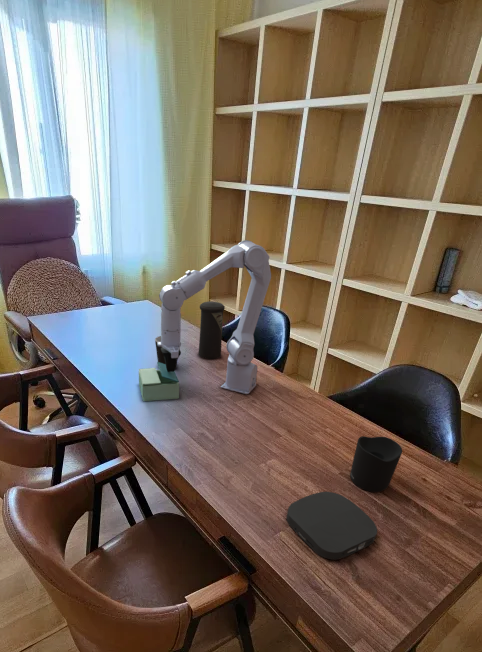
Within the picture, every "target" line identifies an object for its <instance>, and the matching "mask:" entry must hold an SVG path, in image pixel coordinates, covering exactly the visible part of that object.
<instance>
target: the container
mask: <svg viewBox="0 0 482 652" xmlns="http://www.w3.org/2000/svg"><path fill="white" fill-rule="evenodd" d="M199 310H200V326H199V341H198V356H199V357H200V358H202V359H205V360H216V359H219V358H221V356H222V341H223V340H222V339H223V320H224V310H225V305H224V304H223V303H222V302H218V301H212V300H211V301H204V302H201V304H199Z"/></svg>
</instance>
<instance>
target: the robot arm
mask: <svg viewBox="0 0 482 652" xmlns="http://www.w3.org/2000/svg"><path fill="white" fill-rule="evenodd" d="M231 268H239V269H244V268H245V269H246V271H247V272H248V274H249V276H250V277H251V279H250V283H249V287H248V290H247V293H246V297H245V301H244V304H243V308H242V310H241V314H240V318H239V321H238V324H237V326H236V327H237V328H236V329H235V330H233V332H232V334H231V336H230V338H229V339H228V340H227V343H226V351H227V352H228V357H227V363H226V364H227V365H226V375H225V382H224V383H223V384H222V385H221V386H220V388H221V389H225V390H228V391H231V392H237V393H240V394H245V395H249V394H250V393H251V392H252V391H253V389H254V388H256V386H257V376H258V375H257V374H258V365H257V364H256V363H253V362H252V361H253V360H254V357H255V352H254V347H255V337H254V335H255V330H256V328H257V325H258V321H259V317H260V315H261V311H262V308H263V305H264V302H265V299H266V295H267V293H268V289H269V286H270V283H271V280H272V271H271V267H270V255H269V253H268V252H267V251H266V249H265V248H264V247H263V246H262V245H259V244H257V243H254V242H253V241H251V240H249V239H245V240H242V241H240V242H238V244H235V245H232V246H231V247H230V248H229V249H228V250H227V251H226V252H223V254H221V255H220V256H219V257H217V258H216V259H214V260H213V261H212V262H210V263H209V264H208V265H206V266H205V267H203V268H202V269H200V270H197V269H196V270H195V269H193V270H190V269H189V270H187V271H185V274H184V275H183V276H182V277H180V278H179V279H177V280H173V281H172V282H171V281H170V282H171V283H170V284H167V285H164V286H163V287H162V288H161V291H160V292H159V294H158V298H159V301H160V302H161V307H160V309H161V311H160V336H161V342H157V345H158V346H159V347H160V346H161V347H162V348H161V351H162V353H163V355H164V359H165V364H166V369H167V371H168V372H174V371H175V372H176V368H177V367H176V363H177V364H178V360H179V358H180V356H181V354H182V351H181V349H180V348H181V347H182V342H181V332H182V330H181V328H182V325H181V324H182V323H181V322H182V313H181V308H182V306H183V304H184V301H187V300H189V298H191V297H193V296H195V295H196V294H198V293H199V292H201V291H202V290H204V289H205V287H206V284H207V282H208V281H210V280H212V279H213V278H215V277H217V276H218V275H220V274H222V273H224V272H226V271H227V270H228V269H231ZM175 367H176V368H175Z"/></svg>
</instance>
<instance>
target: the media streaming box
mask: <svg viewBox="0 0 482 652" xmlns="http://www.w3.org/2000/svg"><path fill="white" fill-rule="evenodd" d="M286 522H287V524H288V525H289V526H290V528H291V529H292V530H293V531H294V532H295V533H296V534H297V535H298V536H299V537H300V538H301V539H302V541H303V542H304V543H305V544H306V545H307V546H308V547H309V548H310V549H312V550H313V551H314V552H315V553H316V554H317V555H318V556H320V557H322V558H324V559H328V560H332V561H333V560H334V561H336V560H341V559H343V558H346V557H348V556H351V555H353V554H355V553H357V552H359V551H361V550H363V549H365V548H367V547H369V546H370V545H372V544H373V543H374V542H375V540H376V537H377V534H378V527H377V525H376V523H375V522H374V520H373V519H372V518H371V517H370V516H369V515H368V514H367V513H366V512H365V511H364V510H362V508H361V507H360V506H358V505H357V504H355V503H354V502H353V501H351V500H350V499H349V498H347V497H345V496H344V495H342V494H339V493H336V492H331V491H320V492H315V493H312V494H309V495H306V496H303V497H301V498H299V499H297V500H296V501H293V502H292V503H291V504H290V505H289V506H288V508H287V513H286Z"/></svg>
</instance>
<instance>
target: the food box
mask: <svg viewBox="0 0 482 652" xmlns="http://www.w3.org/2000/svg"><path fill="white" fill-rule="evenodd" d="M138 387H139V391H140V394H141V399H142V401H143V402H151V401H152V402H153V401H167V400H177V399H180V382H179V383H178V382H175V381H172V380H169V379H166V378H163V377H162V375H161V372H160V369H156V367H148V368H138Z"/></svg>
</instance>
